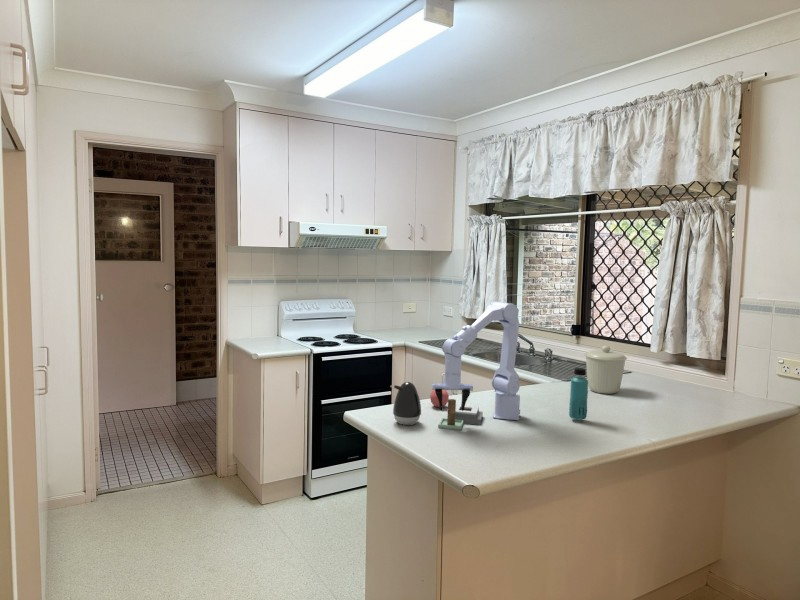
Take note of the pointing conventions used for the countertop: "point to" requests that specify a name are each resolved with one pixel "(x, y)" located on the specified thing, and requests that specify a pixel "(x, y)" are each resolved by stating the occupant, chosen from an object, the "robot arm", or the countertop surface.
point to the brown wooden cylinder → (451, 412)
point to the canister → (604, 370)
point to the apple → (435, 399)
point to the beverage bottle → (578, 395)
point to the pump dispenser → (407, 404)
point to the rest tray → (457, 425)
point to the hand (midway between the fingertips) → (451, 409)
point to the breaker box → (469, 414)
